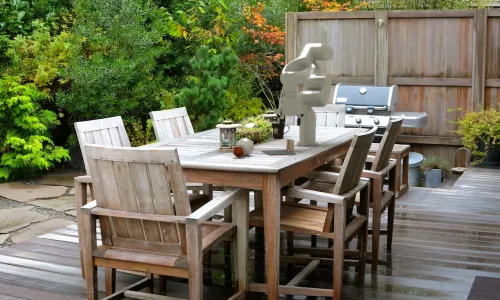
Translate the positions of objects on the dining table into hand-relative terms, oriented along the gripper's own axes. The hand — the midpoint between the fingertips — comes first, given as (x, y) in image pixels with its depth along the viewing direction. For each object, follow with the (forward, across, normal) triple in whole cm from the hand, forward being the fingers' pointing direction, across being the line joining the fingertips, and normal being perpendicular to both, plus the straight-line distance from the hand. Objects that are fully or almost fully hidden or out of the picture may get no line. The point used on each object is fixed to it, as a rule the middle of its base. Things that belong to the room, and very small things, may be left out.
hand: (290, 126), depth 390 cm
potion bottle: (+14, -30, -14) cm, 36 cm away
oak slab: (+14, +1, +1) cm, 14 cm away
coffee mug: (+12, +12, +57) cm, 59 cm away
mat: (+14, -9, -7) cm, 18 cm away
